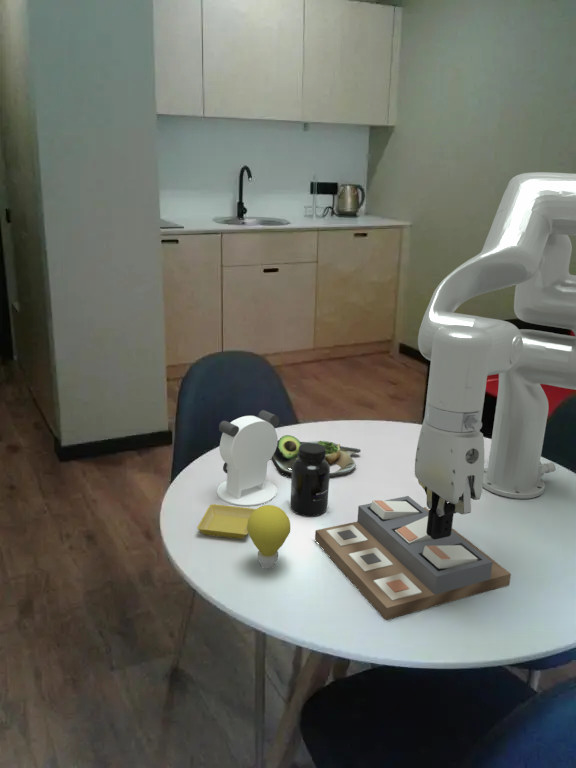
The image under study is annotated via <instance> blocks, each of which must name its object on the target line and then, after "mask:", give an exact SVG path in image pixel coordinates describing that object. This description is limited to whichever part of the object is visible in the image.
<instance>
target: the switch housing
mask: <svg viewBox="0 0 576 768" xmlns="http://www.w3.org/2000/svg"><path fill="white" fill-rule="evenodd" d="M384 501H406V502H407V503H409V504H410V505H411V506H412V507H414V508H415V509H416V510H417V511H419V514H415V515H411V516H406V517H401V518H397V519H382V518H381V517H380V516H379V515H378V514H376V513H375V512H374V511H373V510H372V509H371V504H372V502H371V503H370V502H369V503H366V504H362V505H358V510H357V520H356V522H358V523H360V524H361V525H362V526H363V527H364V528H365V529H366V530H367V531H368V532H369V533H370V534H371V535H372V536H373V537H374V538H375V539H376V540H377V541H378V542H380V543H381V544H382V545H383V546H384V547H385V548H386V549H387V550H388V551H389V552H390V553H391V554H392V555H393V556H394V557H395V558H396V559H397V560H399V561H400V562H401V563H402V564H403V565H404V566H405V567H406V568H407V569H408V570H409V571H410V572H411V573H412V574H413V575H414V576H415V577H416V578H417V579H419V580H420V581H421V582H422V583H423V584H424V585H425V586H426V587H427V588H428V589H429V590H430V591H431V592H432V593H433V594H434V595H436V594H439V593H443V592H446V591H450V590H454V589H457V588H461V587H464V586H468V585H472V584H475V583H479V582H483V581H486V580H490V576H491V569H492V561H491V560H489V559H488V558H487V557H486V556H484V555H483V554H482V553H480V552H479V551H478V550H477V549H475V548H474V547H473V546H471V545H470V544H469V543H468V542H466V541H465V540H464V539H463V538H461V537H460V536H459V535H457V534H456V533H455V532H454V531H452V530H451V535H450V536H449V537H444V538H440V539H435V540H434V539H431V540H427V541H423V542H419V543H415V544H410V545H408V544H407V543H406V542H405V541H404V540H403V539H401V538H400V537H399V536H398V535H397V534H396V533H395V530H397V529H399V528H401V527H403V526H406V525H408V524H410V523H413V522H415V521H417V520H420V519H422V518H424V517H426V516H428V514H429V512H428V511H427V510H425V509H424V507H423V506H422V505H420V504H419V503H418V502H417V501H415V500H413V498H411V497H410V496H409V495H406V496H402V497H401V496H400V497H395V498H392V499H391V498H390V499H386V500H384ZM433 545H436V546H446V545H461V546H463V547H464V548H465V549H466V550H468V551H469V552H470V553H471V554H473V555H474V556H475V557H476V558H478V561H476V562H472V563H469V564H465V565H461V566H457V567H453V568H442V569H439V568H437V567H436V566H435V565H434V564H433V563H432V562H431V561H430V560H428V559H427V558H426V557H425V556H424V555H423V551H424V547H425V546H433Z"/></svg>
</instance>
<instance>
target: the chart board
mask: <svg viewBox="0 0 576 768" xmlns="http://www.w3.org/2000/svg"><path fill="white" fill-rule="evenodd" d="M423 508H424V509H425V510H427V511H428V512H429V510H430V509H429V508H428V507H427V506H424V507H423ZM452 531H454V532H455V533H456V534H457V535H459V536H460V537H461V538H463V539H464V540H465V541H466V542H468V543H469V544H470V545H471V546H473V547H474V548H475V549H477V550H478V551H479V552H480V553H482V554H483V555H484V556H486V557H487V558H488V559H489V560H491V561H492V569H491V576H490V580H486V581H483V582H479V583H475V584H472V585H468V586H464V587H461V588H457V589H454V590H450V591H446V592H443V593H439V594H436V595H434V594H433V593H432V592H431V591H430V590H429V589H428V588H427V587H426V586H425V585H424V584H423V583H422V582H421V581H420V580H419V579H417V578H416V577H415V576H414V575H413V574H412V573H411V572H410V571H409V570H408V569H407V568H406V567H405V566H404V565H403V564H402V563H401V562H400V561H399V560H397V559H396V558H395V557H394V556H393V555H392V554H391V553H390V552H389V551H388V550H387V549H386V548H385V547H384V546H383V545H382V544H381V543H380V542H378V541H377V540H376V539H375V538H374V537H373V536H372V535H371V534H370V533H369V532H368V531H367V530H366V529H365V528H364V527H363V526H362V525H361V524H360V523H358V522H357V521H353V522H349V523H344V524H338V525H335V526H328V527H325V528H320V529H319V528H318V529H316V530H315V534H314V535H315V536H314V541H315V540H316V541H315V543H316V542H318V543H319V545H320V546H321V547H322V548H323V549H324V550H323V549H322V548H321V547H320V546H319V545H318V546H319V547H320V548H321V549H322V550H323V552H324V551H325V552H326V553H327V554H328V555H329V556H330V557H329V556H328V555H327V554H326V553H325V552H324V553H325V554H326V555H327V556H328V557H329V559H331V561H332V562H333V561H334V562H335V563H336V564H335V563H334V562H333V563H334V564H335V565H336V566H337V567H338V568H339V570H340V571H341V572H342V571H343V572H342V573H343V574H344V575H345V576H346V578H348V580H349V581H350V582H351V583H352V584H353V585H354V586H355V588H357V590H358V591H359V592H360V594H362V595H363V597H364V598H365V600H367V601H368V602H369V603H370V604H371V605H372V606H373V608H374V609H375V610H376V611H377V613H379V614H380V615H381V617H382V618H383V619H384V620H385V621H387V620H391V619H394V618H398V617H401V616H405V615H408V614H411V613H415V612H419V611H423V610H427V609H430V608H433V607H436V606H440V605H444V604H447V603H451V602H454V601H457V600H461V599H465V598H469V597H471V596H475V595H479V594H483V593H486V592H489V591H493V590H497V589H500V588H503V587H507V586H510V582H511V581H510V580H511V576H512V573H511V572H509V571H508V570H507V569H506V568H504V567H503V566H502V565H501V564H499V563H498V562H496V561H495V560H494V559H493V558H491V556H489V555H487V554H486V553H485V551H482V550H481V549H480V548H478V546H476V545H475V544H473V542H471V541H470V540H468V539H467V538H465V536H464V535H462V534H461V533H459V532H458V531H457V530H456V529H454V528H453V527H452Z"/></svg>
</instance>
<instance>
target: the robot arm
mask: <svg viewBox="0 0 576 768" xmlns="http://www.w3.org/2000/svg"><path fill="white" fill-rule="evenodd" d="M498 205H499V206H498V207H497V211H496V213H495V216H494V218H493V221H492V223H491V227H490V229H489V231H488V234H487V236H486V239H485V242H484V244H483V247H482V249H481V252H479V253H478V254H476V255H475V256H473V257H471V258H469V259H468V260H466V261H465V262H464V263H462V264H460V265H459V266H458V267H456V268H455V269H454V270H453V271H451V272H450V273H449V274H448V275H446V276H445V277H444V279H442V280H441V281H440V283H439V284H438V285H437V287H436V288H435V289H434V291H433V294H432V296H431V298H430V300H429V303H428V305H427V308H426V310H425V312H424V314H423V318H422V321H421V324H420V327H419V330H418V337H417V346H418V351H419V352H420V354H421V355H422V356H423V357H424V358H425V359H426V360H428V361H430V365H429V374H428V375H429V376H428V382H427V384H428V385H427V391H426V392H427V393H426V401H425V411H424V418H423V421H422V425H421V428H420V431H419V435H418V440H417V445H416V451H415V460H414V477H415V478H416V479H417V482H418V484H419V485H420V486H421V488H422V489H423V490H424V493H425V495H426V508H427V509H428V510H429V514H428V522H427V531H426V533H427V535H429V536H431V538H432V539H434V540H435V539H440V538H444V537H449V536H450V535H451V530H452V528H453V521H454V515H455V514H460V515H467V514H471V512H472V500H474V501H477V500H480V499H481V497H482V492H483V489H485V490H487V491H489V492H491V493H492V494H496V495H499V496H503V497H506V498H510V499H511V498H512V499H522V500H525V499H533V498H536V497H539V496H541V495H542V494H543V493H544V491H545V483H544V481H543V479H542V476H544V475H545V474H548V473H554V472H555V471H556V467H557V466H556V464H555V463H554V462H547V463H543V464H542V462H541V457H542V451H543V445H544V440H545V439H544V438H545V434H546V427H547V420H548V415H549V400H548V397H547V395H546V393H545V391H544V388H542V385H546V386H547V385H548V386H552V387H557V388H563V389H569V390H576V275H574V274H571V273H570V262H571V255H572V251H573V248H572V247H573V246H572V242H571V239H570V237H569V236H573V237H574V236H575V237H576V173H569V172H567V173H566V172H550V171H549V172H548V171H547V172H546V171H545V172H544V171H541V172H539V171H537V172H536V171H535V172H524V173H520V174H517V175H515V176H513V177H512V178H511V179H510V180H509V182H508V184H507V186H506V189H505V190H504V192H503V195H502V198H501V201H500V202H499V204H498ZM513 286H515V290H514V300H513V310H514V311H513V312H514V314H515V316H516V317H517V318H518V320H520V321H522V322H525V323H529V324H534V325H539V326H547V327H552V328H553V327H554V328H558V329H560V328H561V329H566V330H570V331H572V332H573V334H574V336H573V335H568V334H560V333H554V332H550V331H549V332H548V331H543V330H535V329H530V328H529V329H527V328H526V329H525V328H524V329H523V328H521V329H519V328H518V327H517V326H516V325H515V324H513V323H511V322H510V321H506V320H502V319H496V318H491V317H490V318H489V317H483V316H479V315H473V314H472V315H471V314H464V313H459V312H455V311H457V309H458V308H459V307H460V306H461V305H462V304H464V303H465V302H467V301H469V300H470V299H472V298H475V297H477V296H480V295H483V294H487V293H490V292H495V291H497V290H499V291H500V290H502V289H506V288H509V287H513ZM493 375H498V388H497V389H498V390H497V398H496V405H495V413H494V421H493V428H492V435H491V441H490V442H491V443H490V450H489V456H488V464H487V467H485V440H484V433H482V432H481V431H480V430H481V429H482V427H483V422H482V418H483V411H484V403H485V395H486V390H487V389H486V388H487V380H488V377H489V376H493Z"/></svg>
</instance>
